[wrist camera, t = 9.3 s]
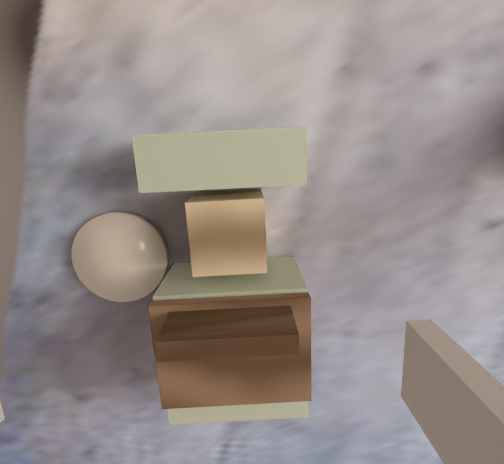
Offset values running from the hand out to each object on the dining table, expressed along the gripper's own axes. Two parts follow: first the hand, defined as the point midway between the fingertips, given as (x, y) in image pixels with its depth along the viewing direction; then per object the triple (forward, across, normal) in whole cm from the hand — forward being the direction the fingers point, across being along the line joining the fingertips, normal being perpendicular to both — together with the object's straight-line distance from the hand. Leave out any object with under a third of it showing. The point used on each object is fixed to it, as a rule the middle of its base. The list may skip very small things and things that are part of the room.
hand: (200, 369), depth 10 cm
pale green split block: (+23, 0, -4) cm, 23 cm away
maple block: (+23, 0, 0) cm, 23 cm away
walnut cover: (+14, 0, -9) cm, 17 cm away
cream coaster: (+23, -11, -3) cm, 25 cm away
